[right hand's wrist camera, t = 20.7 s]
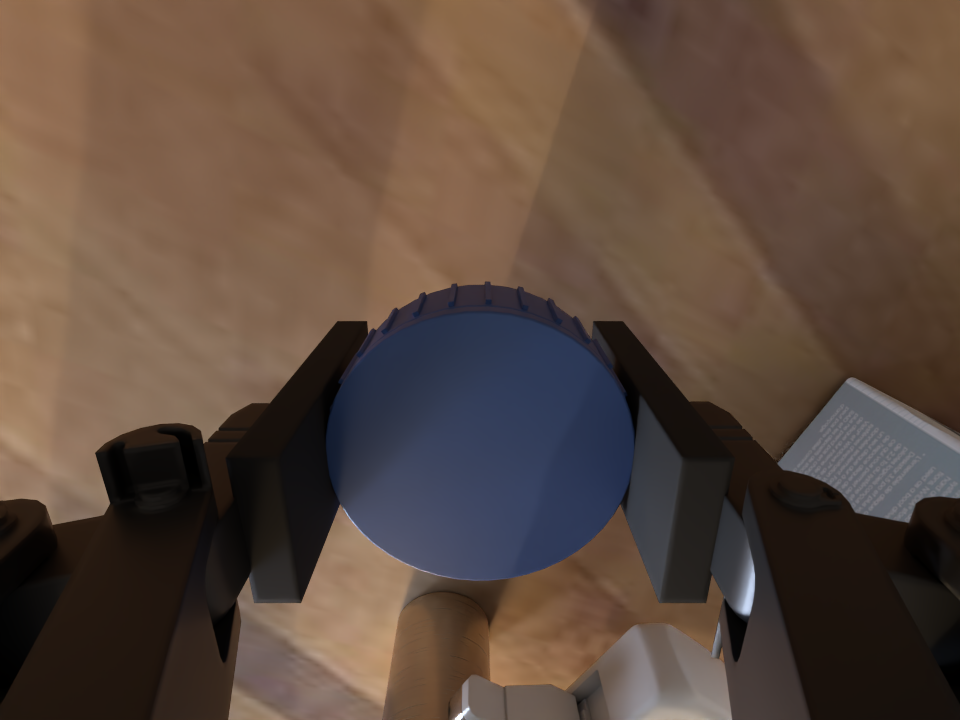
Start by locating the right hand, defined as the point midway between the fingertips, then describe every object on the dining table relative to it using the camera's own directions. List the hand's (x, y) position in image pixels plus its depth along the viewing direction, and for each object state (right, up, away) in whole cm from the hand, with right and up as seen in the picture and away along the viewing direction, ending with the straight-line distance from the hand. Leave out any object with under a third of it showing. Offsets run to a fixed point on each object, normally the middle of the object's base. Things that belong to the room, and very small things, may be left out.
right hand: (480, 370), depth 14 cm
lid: (0, -1, -4) cm, 4 cm away
